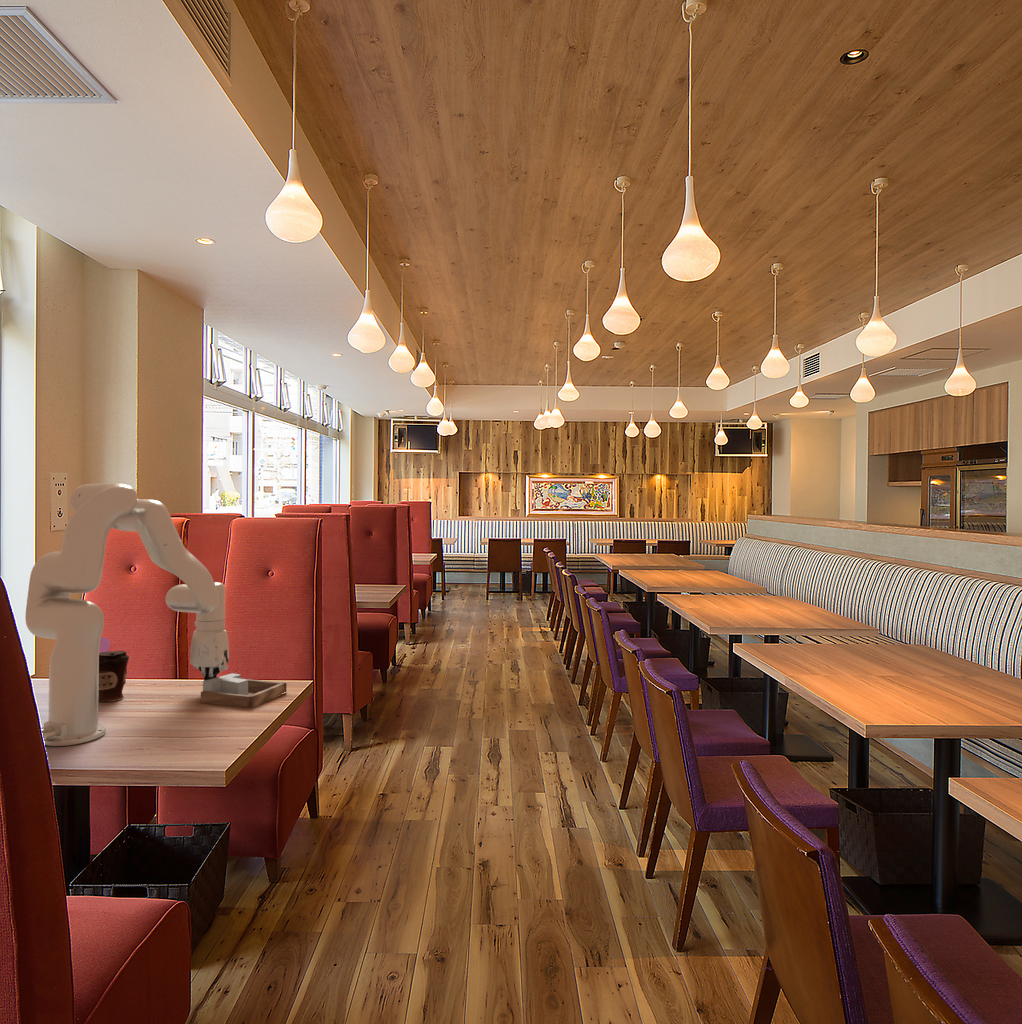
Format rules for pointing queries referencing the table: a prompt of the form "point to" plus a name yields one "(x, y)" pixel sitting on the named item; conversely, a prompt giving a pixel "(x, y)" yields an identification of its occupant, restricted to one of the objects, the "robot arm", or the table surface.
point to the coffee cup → (112, 675)
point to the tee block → (227, 684)
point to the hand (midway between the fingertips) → (210, 689)
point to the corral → (264, 689)
